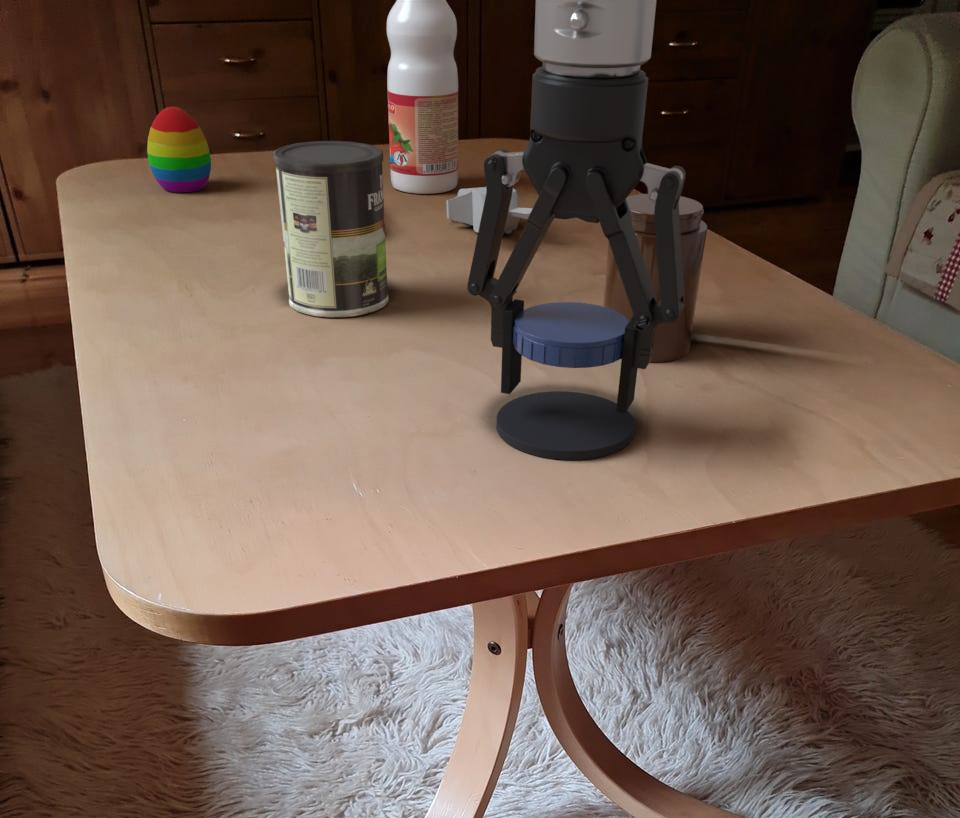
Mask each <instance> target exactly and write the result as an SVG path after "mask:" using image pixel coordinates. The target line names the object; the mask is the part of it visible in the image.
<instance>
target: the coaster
mask: <svg viewBox="0 0 960 818" xmlns="http://www.w3.org/2000/svg"><path fill="white" fill-rule="evenodd" d="M616 408H617V402H616V401H613V400H610V399H608V398H605V397H602V396H598V395H594V394H589V393H585V392H576V391H563V390H562V391H560V390H559V391H556V390H553V391H540V392H534V393H529V394H525V395H522V396H519V397H516V398H513V399H512V400H510V401H508V402H506V403H505V404H503V406H501V407H500V408H499V410H498V411H497V413H496V414H497V415H496V416H495V417H496V418H495V419H496V421H495V428H496V432H497V434H498V436H499V437H500V439H502V440H503V442H505V443H506V444H507V445H509V446H510V447H512V448H514V449H516V450H518V451H520V452H523V453H526V454H527V455H528V454H529V455H532V456H536V457H540V458H544V459H552V460H562V461H582V460H583V461H584V460H591V459H592V460H593V459H599V458H602V457H606V456H610V455H612V454H615V453H617V452H619V451H621V450H623V449H624V448H626V447H627V446H628V445H630V443H632V440H633V438H634V436H635V429H636V422H635V418H634V417H633V415H632V414H631V413H630V411H629V410H627V412H626V413H621V412H616Z"/></svg>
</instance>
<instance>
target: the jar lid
mask: <svg viewBox="0 0 960 818" xmlns="http://www.w3.org/2000/svg"><path fill="white" fill-rule="evenodd" d="M628 323H629V320H628V319H627V318H626V317H625V316H624V315H622V314H621V313H619V312H617V311H615V310H612V309H609V308H606V307H603V305H597V304H593V303H585V302H574V301H563V302H562V301H561V302H560V301H559V302H548V303H542V304H536V305H534V306H530V307H527V308H524V310H523V311H521V312H520V313H519V314H518V315H517V316H516V318H515V327H514V329H513V344H514V346H515V349H516V350H517V351H518V353H520V354H521V355H522V357H524V358H526V359H528V360H529V361H532V362H535V363H538V364H541V365H545V366H550V367H555V368H567V369H588V368H589V369H590V368H597V367H602V366H603V367H604V366H606V365H609V364H613V363H615V362H617V361H619V360H622V351H623V341H624V332H625V327H626V326H627V324H628Z"/></svg>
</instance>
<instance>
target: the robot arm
mask: <svg viewBox="0 0 960 818" xmlns="http://www.w3.org/2000/svg"><path fill="white" fill-rule="evenodd" d="M656 9H657V0H535V17H534V41H533V42H534V44H533V55H534V57H535V58H536V59H537V60H538V61H540V62H541V63H542V66H539V67H537V68H536V69H535V72H534V73H532V81H531V101H530V102H531V103H530V104H531V105H530V123H529V124H530V127H529V128H530V129H529V130H530V134H529V135H530V136H529V141H528V143H527V145H526V147H525V149H524V150H523V151H514V152H513V151H512V152H509V150H507V149H506V148H501V149H498V150H497V151H495V152H494V153H492V154H490V155H488V156H487V157H486V158H485V159H484V161H483V171H484V180H485V187H486V190H487V192H486V197H485V202H484V207H483V212H482V217H481V221H480V226H479V231H478V232H477V237H476V241H475V245H474V251H473V256H472V261H471V266H470V270H469V275H468V280H467V284H466V289H467V292H468V293H469V295H471V296H473V297H480V298H483V299H484V300H486V301H487V302H488V304H489V305H490V308H491V310H490V311H491V313H490V342H491V345H492V347H495V348H501V375H500V393H501V394H506V395H511V393H512V392H513V391H514V390H515V389H516V388H517V386H519V384H520V383H521V381H522V359H523V356H522V355H521V354H520V353H518V351H517V350H516V349H515V346H514V344H513V329H514V327H515V318H516V316H517V315H518V314H519V313H520V312H521V311H523V310H525V299H518V298H517V299H516V298H515V299H514V295H516V294H517V293H518V288H519V286H520V284H521V283H522V280H523V278H524V277H525V275H526V272H527V270H529V267H530V265H531V263H532V262H533V260H534V257H535V255H536V253H537V251H538V249H539V248H540V246H541V243H542V242H543V239H545V236H546V234H547V233H548V230H549V228H550V226H551V224H552V223H553V221H554V220H555V219H557V220H570V219H579V220H581V221H584V222H585V223H593V224H600V228H601V230H602V233H603V235H604V237H605V238H606V239H607V240H608V245H609V244H610V247H611V250H612V252H613V255H614V258H615V261H616V264H617V267H618V270H619V273H620V276H621V279H622V282H623V285H624V288H625V291H626V294H627V297H628V300H629V303H630V305H631V308H632V311H633V314H634V316H633V317H632V318H631V320H630V321H629V323H628V324H627V326H626V327H625V332H624V341H623V351H622V358H621V361H620V371H619V380H618V390H617V399H616V403H617V408H616V412H621V413H626V412H627V411H629V409H630V407H631V405H632V404H633V402H634V400H635V394H636V387H637V385H636V384H637V377H638V369H640V370H646V369H647V368H648V366H649V364H650V363H651V362H650V361H651V359H652V357H653V350H654V342H655V334H656V326H657V325H658V324H660V323H664V322H667V323H673V322H675V321H676V320H677V319H678V317H679V316H680V314H681V312H682V311H683V309H684V307H685V293H684V278H683V262H682V247H681V232H680V217H679V200H680V196H682V192H683V188H684V184H685V181H686V175H687V173H686V170H685V169H684V167H682V166H680V165H674V166H671V167H670V168H668V167H665V166H660V165H657V164H653V163H649V162H648V161H647V157H646V155H645V153H644V149H643V134H644V125H645V117H646V115H645V114H646V107H647V95H648V87H649V77H648V76H646V75H647V74H646V72H645V71H644V70H642V69H641V66H642V65H644V64H646V63H648V62H649V60H650V59H651V58H652V52H653V51H652V48H653V41H654V40H653V39H654V31H655V21H656V20H655V19H656ZM523 170H524V172H525V174H526V175H527V177H528V179H529V181H530V182H531V184H532V186H533V188H534V190H535V191H536V193H537V194H538V197H537V198H536V202H535V203H534V205H533V207H532V208H533V209H532V211H531V213H530V215H529V217H528V219H526V223H525V225H524V227H523V230H522V232H521V233H520V236H519V237H518V239H517V241H516V243H515V245H514V248H513V249H512V251H511V253H510V255H509V257H508V259H507V261H506V263H505V266H504V267H503V270H502V271H501V272H500V274H499V277H498V278H496V277H495V273H496V268H497V265H498V260H499V255H500V251H501V250H500V249H501V247H502V241H503V237H504V234H505V233H504V229H505V224H506V220H507V215H508V211H509V206H510V202H511V197H512V192H513V188H514V185H515V184H517V183H519V181H520V178H521V173H522V171H523ZM640 182H642V183H643V184H644V185H645V186H646V188H647V194H648V197H649V199H650V200H651V201H652V202H654V203H655V211H654V222H655V235H656V248H657V260H658V273H659V286H660V299H661V301H658V302H657V299H656V296H655V293H654V290H653V287H652V284H651V281H650V278H649V274H648V271H647V268H646V265H645V262H644V259H643V256H642V253H641V250H640V247H639V244H638V241H637V238H636V235H635V232H634V229H633V225H632V216H631V213H630V210H629V207H628V203H627V200H626V198H627V197H628V196H630V194H631V193H632V192H633V190H635V188H636V187H637V186H638V184H639V183H640Z"/></svg>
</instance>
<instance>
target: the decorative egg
mask: <svg viewBox="0 0 960 818" xmlns="http://www.w3.org/2000/svg"><path fill="white" fill-rule="evenodd" d="M146 149H147V150H146V152H147V160H148V164H149V169H150V171H151V173H152V175H153V177H154V179H155V180H156V183H158V185H159V186H160V187H161V188H162V189H164V191H167V192H171V193H193V192H197V191H198V192H199V191H201V190H203V189H204V188H205V187H206V185H207V183H208V181H209V178H210V175H211V172H212V171H211V170H212V158H211V152H210V147H209V145H208V141H207V138H206V136H205V134H204V132H203V131H202V129H201V127H200V126H199V124H198V123H197V122H196V120H195V119H194V118H193V116H191V115H190V114H189V113H188V112H187V111H185V109H183V108H180V107H178V106H167V107H164V108H162V110H161V111H160V112H158V114H157V115H156V116H155V118H154V119H153V122H152V124H151V126H150V128H149V131H148V136H147V146H146Z"/></svg>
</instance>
